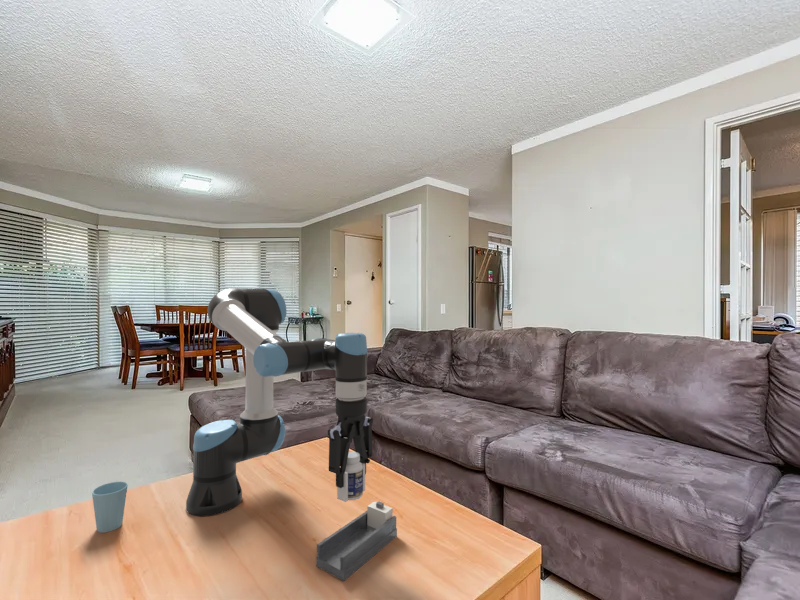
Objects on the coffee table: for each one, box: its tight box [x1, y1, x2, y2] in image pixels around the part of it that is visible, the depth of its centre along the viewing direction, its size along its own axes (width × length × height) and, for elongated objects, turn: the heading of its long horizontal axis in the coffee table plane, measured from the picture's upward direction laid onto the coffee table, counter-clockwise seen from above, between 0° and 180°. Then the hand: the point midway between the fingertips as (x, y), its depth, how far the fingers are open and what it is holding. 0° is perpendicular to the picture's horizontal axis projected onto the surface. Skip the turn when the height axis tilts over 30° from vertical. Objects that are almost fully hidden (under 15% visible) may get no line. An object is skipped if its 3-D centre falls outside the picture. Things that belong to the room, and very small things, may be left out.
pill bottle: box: [345, 451, 363, 501], centre depth 94 cm, size 5×5×10 cm
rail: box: [315, 510, 398, 582], centre depth 95 cm, size 8×20×5 cm, turn 145°
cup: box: [91, 481, 129, 533], centre depth 105 cm, size 8×8×10 cm
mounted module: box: [366, 501, 394, 529], centre depth 102 cm, size 6×3×6 cm, turn 55°
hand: (351, 494), depth 94 cm, fingers closed on pill bottle, 5 cm apart
